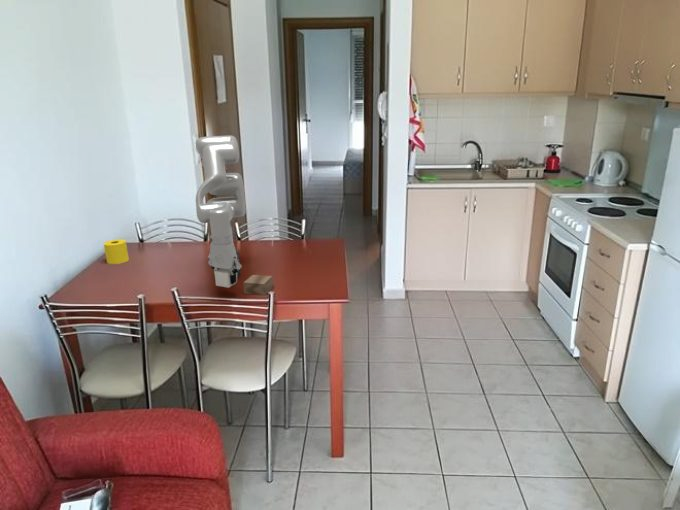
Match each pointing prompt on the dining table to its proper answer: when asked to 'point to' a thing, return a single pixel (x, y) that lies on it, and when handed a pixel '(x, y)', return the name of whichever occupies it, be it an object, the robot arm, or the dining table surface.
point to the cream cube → (223, 277)
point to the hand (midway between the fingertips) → (226, 281)
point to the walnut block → (258, 284)
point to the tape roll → (116, 251)
